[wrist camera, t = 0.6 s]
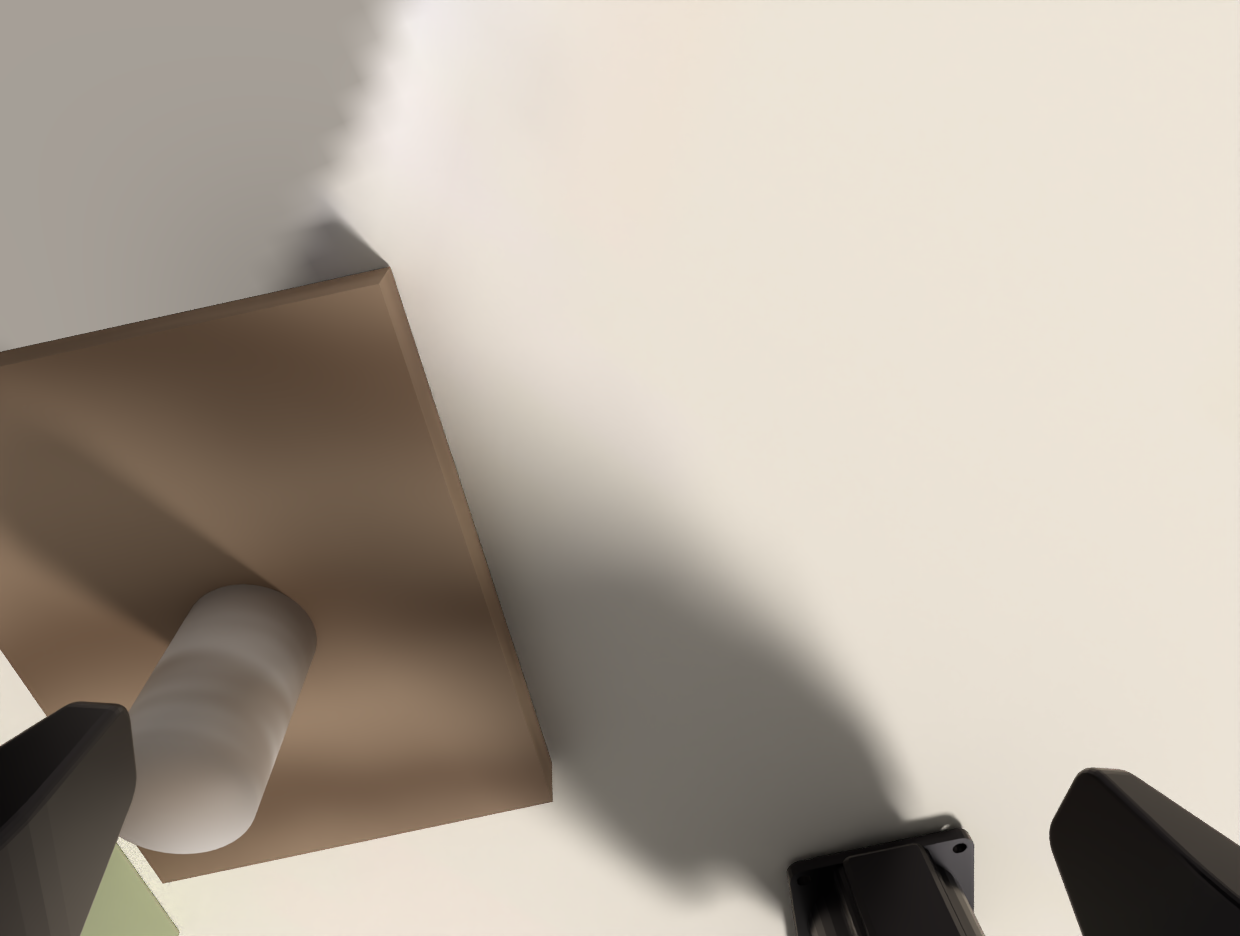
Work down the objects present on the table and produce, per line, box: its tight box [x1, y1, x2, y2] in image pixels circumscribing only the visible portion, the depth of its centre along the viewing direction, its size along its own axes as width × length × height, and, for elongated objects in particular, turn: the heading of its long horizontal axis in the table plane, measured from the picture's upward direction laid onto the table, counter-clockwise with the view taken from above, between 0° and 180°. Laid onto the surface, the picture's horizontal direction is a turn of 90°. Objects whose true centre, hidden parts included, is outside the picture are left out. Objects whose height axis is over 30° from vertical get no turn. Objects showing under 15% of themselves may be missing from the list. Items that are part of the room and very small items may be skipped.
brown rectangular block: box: [0, 267, 553, 883], centre depth 20 cm, size 16×12×7 cm
